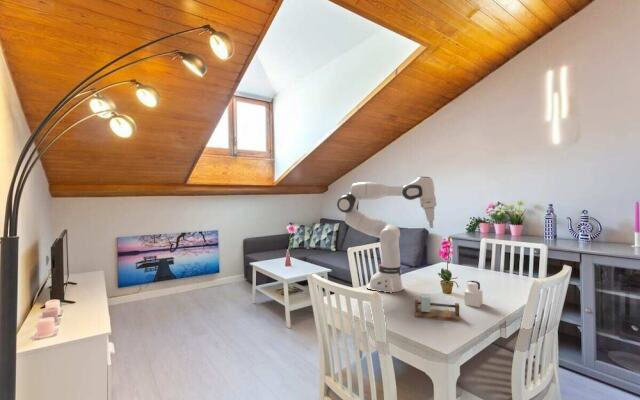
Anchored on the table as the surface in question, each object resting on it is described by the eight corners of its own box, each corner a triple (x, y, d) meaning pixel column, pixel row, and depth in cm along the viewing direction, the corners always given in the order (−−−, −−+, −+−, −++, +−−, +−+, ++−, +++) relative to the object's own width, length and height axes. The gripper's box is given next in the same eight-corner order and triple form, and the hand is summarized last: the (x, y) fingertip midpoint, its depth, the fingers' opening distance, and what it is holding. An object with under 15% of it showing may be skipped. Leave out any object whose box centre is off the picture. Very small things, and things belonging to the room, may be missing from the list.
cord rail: (414, 317, 149) (414, 303, 149) (415, 310, 157) (415, 298, 157) (460, 321, 143) (459, 307, 143) (458, 314, 150) (458, 301, 150)
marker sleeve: (421, 311, 150) (421, 297, 149) (421, 307, 154) (421, 293, 154) (430, 312, 148) (429, 297, 148) (429, 308, 153) (429, 294, 153)
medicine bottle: (468, 300, 168) (467, 278, 167) (482, 303, 163) (482, 281, 163) (464, 304, 162) (464, 282, 162) (479, 307, 158) (479, 284, 157)
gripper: (422, 202, 192) (425, 224, 193) (422, 205, 173) (426, 229, 173) (433, 201, 190) (436, 223, 191) (434, 204, 171) (438, 228, 171)
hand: (431, 226), depth 182 cm, fingers open, 8 cm apart
